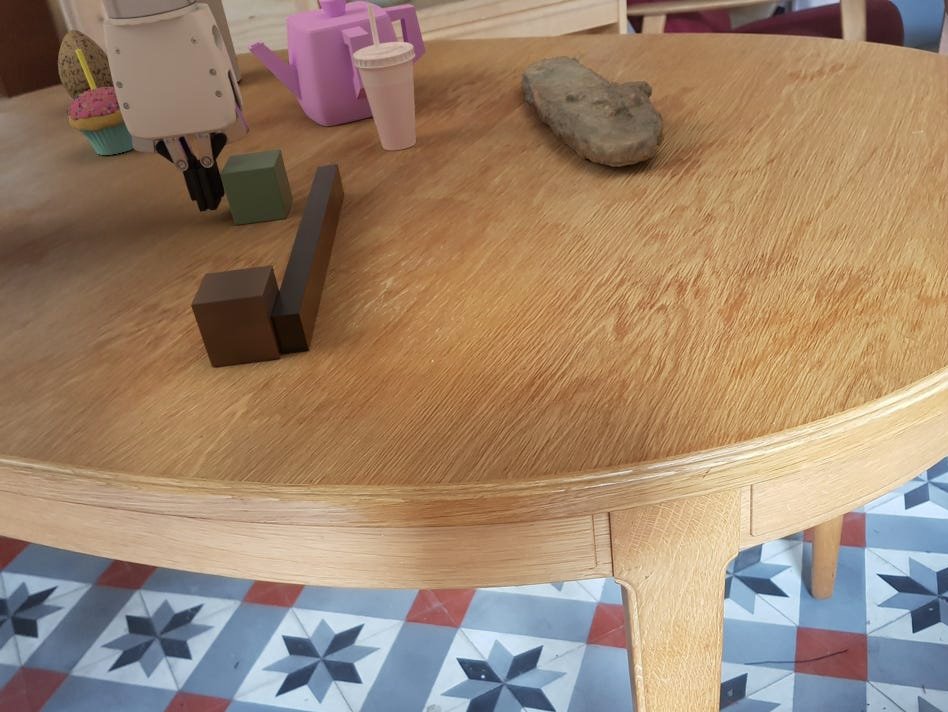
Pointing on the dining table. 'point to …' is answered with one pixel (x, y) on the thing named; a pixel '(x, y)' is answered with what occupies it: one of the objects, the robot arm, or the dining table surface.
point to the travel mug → (223, 31)
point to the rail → (308, 262)
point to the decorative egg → (72, 68)
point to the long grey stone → (594, 111)
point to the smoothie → (389, 88)
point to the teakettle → (335, 56)
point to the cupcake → (99, 116)
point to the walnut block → (238, 315)
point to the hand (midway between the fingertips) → (211, 205)
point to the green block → (257, 187)
